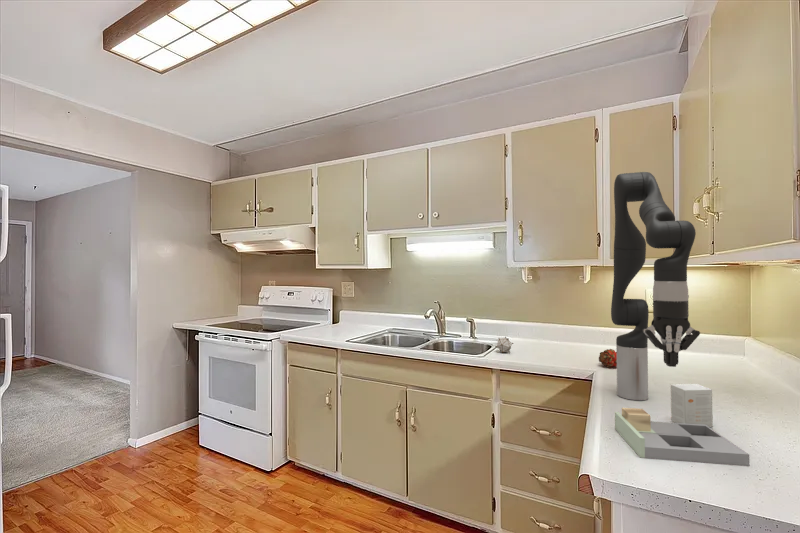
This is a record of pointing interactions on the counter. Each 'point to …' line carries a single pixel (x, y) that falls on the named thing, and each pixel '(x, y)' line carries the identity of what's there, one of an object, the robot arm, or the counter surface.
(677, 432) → the grey slotted tray
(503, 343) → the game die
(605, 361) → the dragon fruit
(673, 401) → the small box
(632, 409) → the block
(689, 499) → the counter surface
